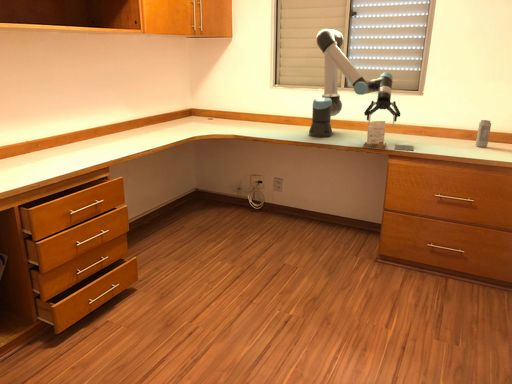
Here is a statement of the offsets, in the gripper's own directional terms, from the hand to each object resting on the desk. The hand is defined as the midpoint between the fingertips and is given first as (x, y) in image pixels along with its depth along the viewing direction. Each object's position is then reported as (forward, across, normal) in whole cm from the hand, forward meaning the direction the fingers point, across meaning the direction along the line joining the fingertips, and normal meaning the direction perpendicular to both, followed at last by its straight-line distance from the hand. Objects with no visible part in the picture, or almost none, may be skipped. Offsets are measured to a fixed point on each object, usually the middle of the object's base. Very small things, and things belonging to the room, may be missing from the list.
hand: (380, 125), depth 246 cm
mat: (+11, -14, -5) cm, 19 cm away
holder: (+11, +2, -5) cm, 12 cm away
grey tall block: (-1, -56, -19) cm, 59 cm away
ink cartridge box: (+12, +2, -5) cm, 13 cm away
